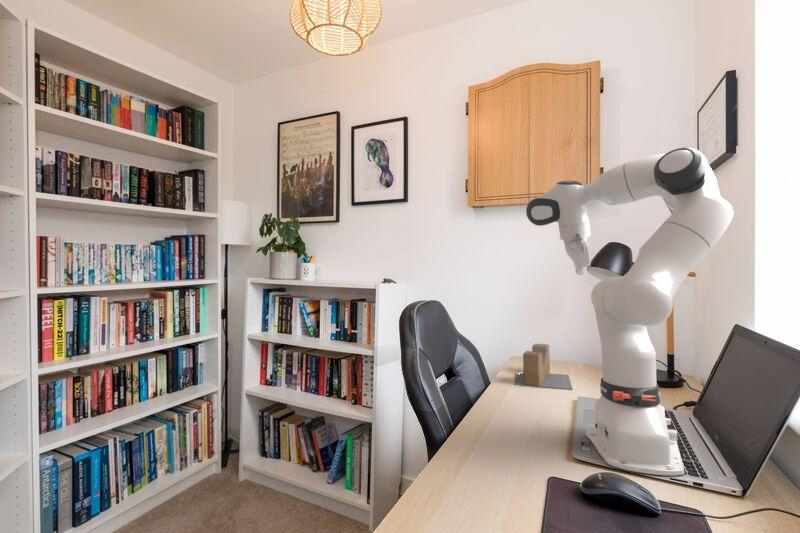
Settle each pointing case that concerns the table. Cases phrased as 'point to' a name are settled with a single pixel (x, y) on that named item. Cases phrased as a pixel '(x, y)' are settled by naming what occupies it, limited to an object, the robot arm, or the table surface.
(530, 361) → the decorative block
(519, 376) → the felt pad
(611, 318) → the robot arm
